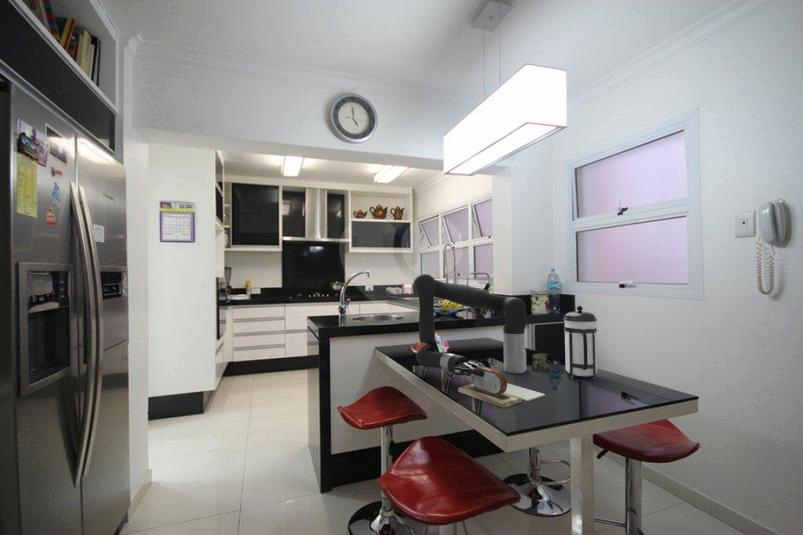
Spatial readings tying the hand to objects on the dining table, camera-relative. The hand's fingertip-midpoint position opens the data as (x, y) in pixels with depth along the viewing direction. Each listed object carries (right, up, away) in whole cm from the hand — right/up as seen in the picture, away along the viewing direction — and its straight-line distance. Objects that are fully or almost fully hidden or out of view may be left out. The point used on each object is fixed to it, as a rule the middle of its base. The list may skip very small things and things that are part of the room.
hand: (486, 373), depth 135 cm
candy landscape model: (-14, -10, +84) cm, 86 cm away
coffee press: (+46, -8, +22) cm, 51 cm away
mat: (+11, -8, +5) cm, 15 cm away
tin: (0, -7, -1) cm, 7 cm away
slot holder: (+1, -8, -1) cm, 8 cm away
